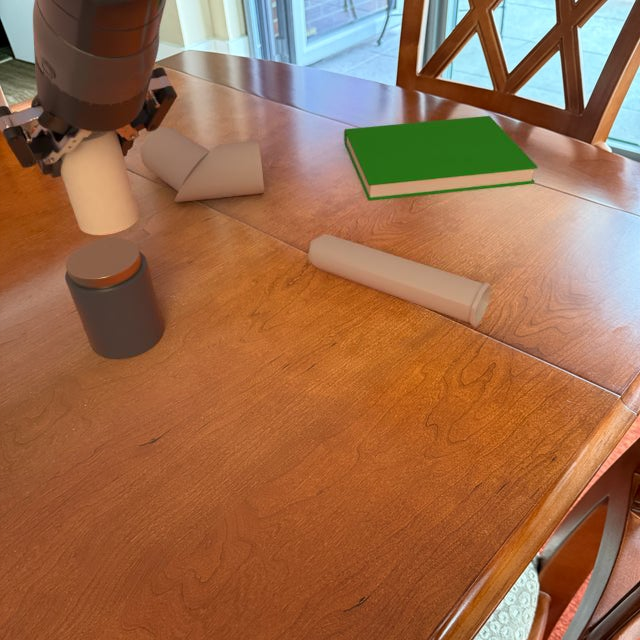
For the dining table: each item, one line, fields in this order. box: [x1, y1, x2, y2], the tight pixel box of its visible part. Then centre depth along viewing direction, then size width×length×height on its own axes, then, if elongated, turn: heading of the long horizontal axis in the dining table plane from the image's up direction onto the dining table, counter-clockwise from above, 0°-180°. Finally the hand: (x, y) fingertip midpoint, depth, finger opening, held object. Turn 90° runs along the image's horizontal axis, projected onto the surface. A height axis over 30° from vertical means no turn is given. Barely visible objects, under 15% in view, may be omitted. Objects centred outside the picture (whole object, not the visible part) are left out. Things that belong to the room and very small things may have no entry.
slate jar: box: [64, 237, 165, 360], centre depth 71 cm, size 9×9×12 cm
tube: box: [307, 233, 492, 328], centre depth 78 cm, size 5×5×25 cm
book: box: [343, 115, 538, 201], centre depth 106 cm, size 22×28×3 cm
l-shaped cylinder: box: [140, 126, 265, 203], centre depth 100 cm, size 18×11×20 cm
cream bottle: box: [60, 130, 139, 236], centre depth 53 cm, size 6×6×12 cm
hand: (85, 157), depth 55 cm, fingers closed on cream bottle, 5 cm apart
